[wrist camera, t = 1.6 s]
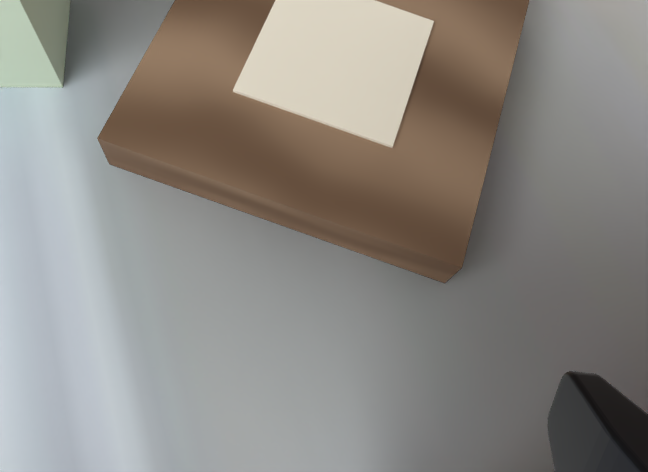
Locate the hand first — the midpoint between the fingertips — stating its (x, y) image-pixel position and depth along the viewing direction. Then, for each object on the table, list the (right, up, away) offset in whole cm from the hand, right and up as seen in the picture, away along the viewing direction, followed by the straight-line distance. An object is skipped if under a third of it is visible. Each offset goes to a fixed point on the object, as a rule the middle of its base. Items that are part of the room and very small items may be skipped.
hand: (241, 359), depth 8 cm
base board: (+1, +8, +17) cm, 19 cm away
